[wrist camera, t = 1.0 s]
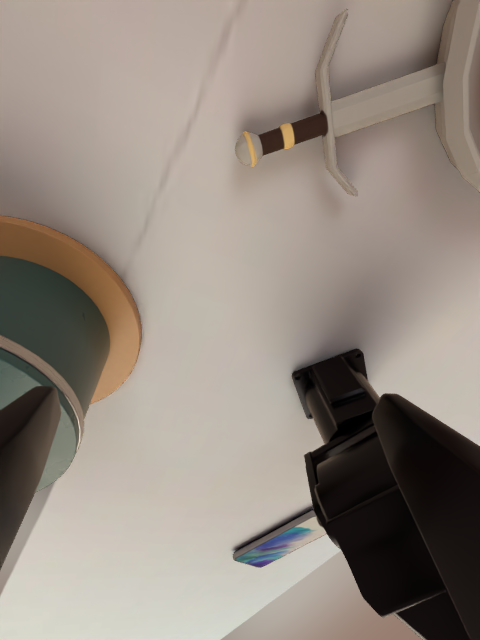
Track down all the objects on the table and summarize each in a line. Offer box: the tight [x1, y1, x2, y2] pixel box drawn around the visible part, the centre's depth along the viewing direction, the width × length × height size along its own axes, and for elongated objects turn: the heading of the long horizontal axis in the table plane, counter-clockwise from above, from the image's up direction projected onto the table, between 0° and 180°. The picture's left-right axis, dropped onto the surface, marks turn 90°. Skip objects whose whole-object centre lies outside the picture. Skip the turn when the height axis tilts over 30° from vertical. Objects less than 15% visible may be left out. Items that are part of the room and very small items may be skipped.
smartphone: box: [233, 510, 327, 567], centre depth 43 cm, size 7×1×15 cm
